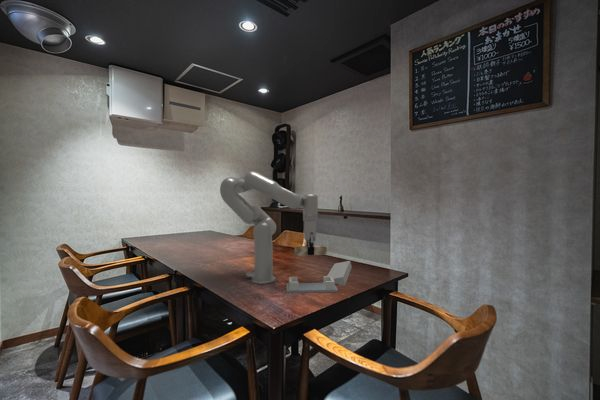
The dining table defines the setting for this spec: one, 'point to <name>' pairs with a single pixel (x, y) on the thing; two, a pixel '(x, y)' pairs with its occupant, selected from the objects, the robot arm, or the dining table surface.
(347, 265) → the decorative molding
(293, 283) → the cradle
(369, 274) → the dining table surface
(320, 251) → the slat
